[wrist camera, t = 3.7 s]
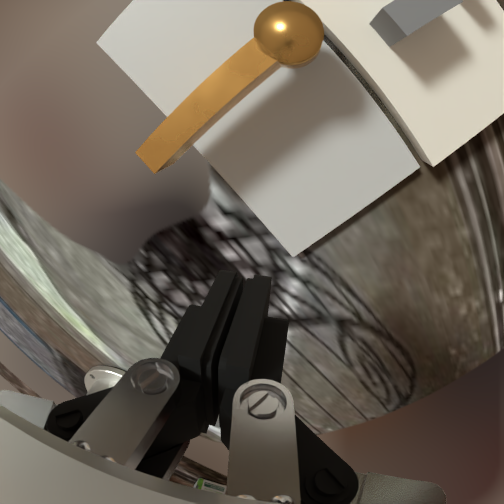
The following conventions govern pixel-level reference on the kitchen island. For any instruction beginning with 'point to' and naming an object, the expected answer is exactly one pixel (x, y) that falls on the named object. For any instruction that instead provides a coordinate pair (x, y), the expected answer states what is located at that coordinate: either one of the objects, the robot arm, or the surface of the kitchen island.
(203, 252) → the kitchen island surface
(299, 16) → the latch bar
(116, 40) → the door mock-up
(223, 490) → the syrup box
